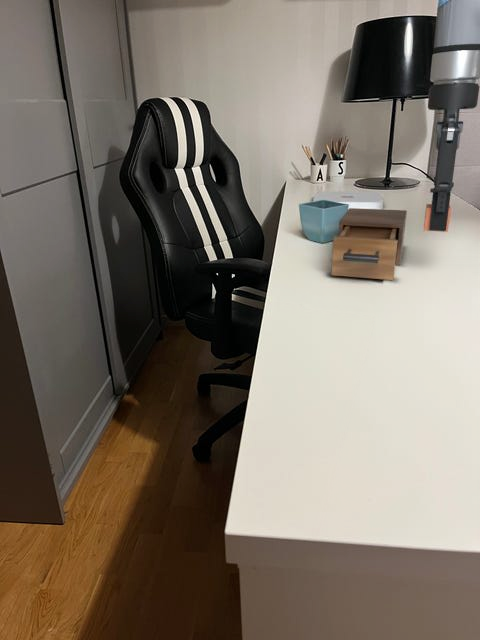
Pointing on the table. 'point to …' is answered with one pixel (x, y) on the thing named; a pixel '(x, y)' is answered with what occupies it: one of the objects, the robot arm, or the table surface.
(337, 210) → the flower pot
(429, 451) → the table surface
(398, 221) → the cabinet
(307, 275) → the table surface
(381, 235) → the drawer
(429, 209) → the block
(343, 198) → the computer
